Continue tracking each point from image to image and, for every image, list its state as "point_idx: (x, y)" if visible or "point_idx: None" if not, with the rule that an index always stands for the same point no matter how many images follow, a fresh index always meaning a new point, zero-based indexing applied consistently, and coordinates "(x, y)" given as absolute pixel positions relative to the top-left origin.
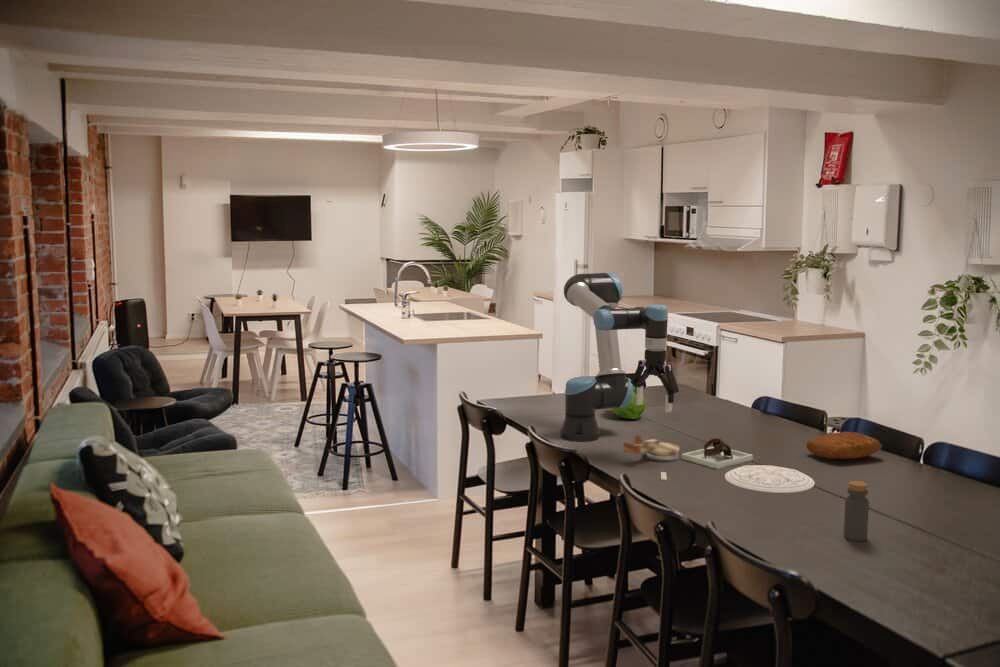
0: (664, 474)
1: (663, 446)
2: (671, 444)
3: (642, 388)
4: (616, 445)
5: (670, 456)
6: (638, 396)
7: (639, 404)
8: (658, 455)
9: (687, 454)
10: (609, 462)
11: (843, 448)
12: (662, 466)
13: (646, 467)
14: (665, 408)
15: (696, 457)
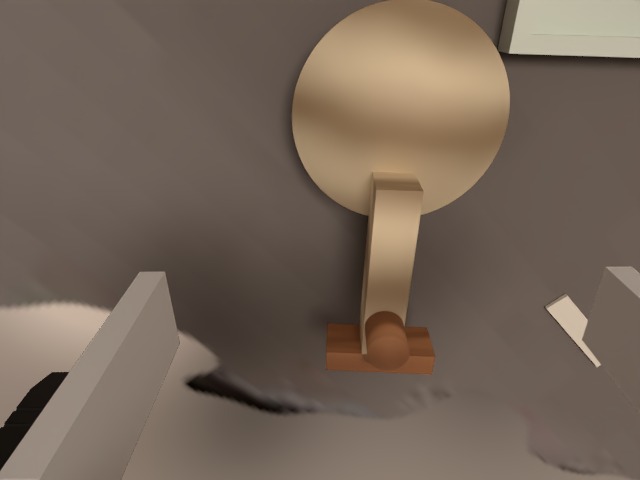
0: (577, 321)
1: (405, 117)
2: (410, 30)
3: (68, 461)
4: (56, 119)
5: None
6: (143, 417)
7: (173, 322)
8: None
9: (533, 16)
10: (292, 343)
11: None
12: (493, 230)
13: (448, 291)
14: (609, 369)
15: (627, 45)
